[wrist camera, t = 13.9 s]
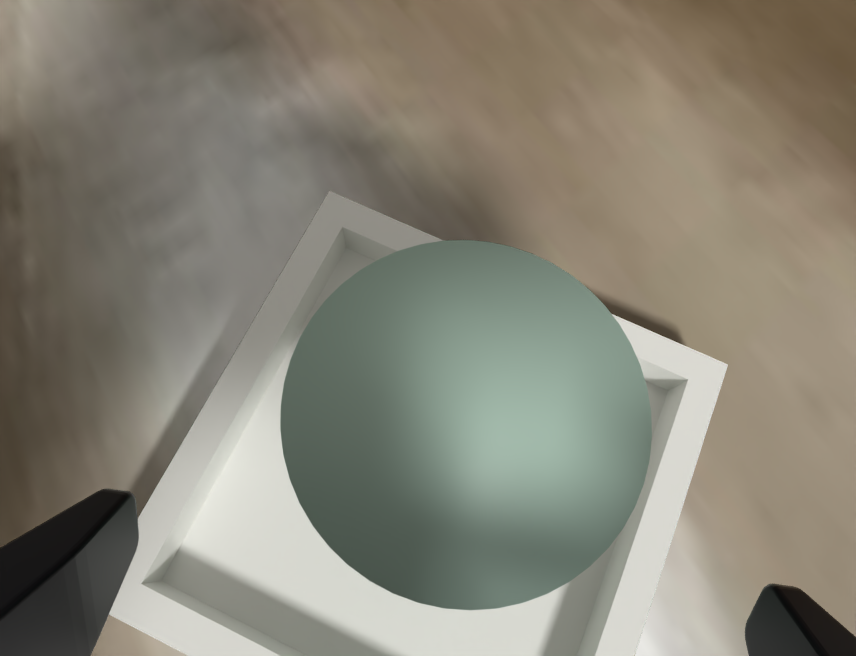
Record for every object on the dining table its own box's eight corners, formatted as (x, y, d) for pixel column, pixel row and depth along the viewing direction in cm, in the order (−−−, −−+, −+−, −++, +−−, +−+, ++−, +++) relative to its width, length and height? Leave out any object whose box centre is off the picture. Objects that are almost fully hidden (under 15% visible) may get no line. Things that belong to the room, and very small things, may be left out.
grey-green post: (412, 607, 19) (432, 702, 8) (313, 465, 21) (207, 371, 9) (544, 498, 21) (728, 446, 9) (443, 369, 22) (495, 180, 10)
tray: (553, 823, 18) (570, 855, 16) (118, 597, 19) (88, 603, 18) (699, 379, 22) (727, 364, 21) (334, 218, 24) (329, 190, 22)
